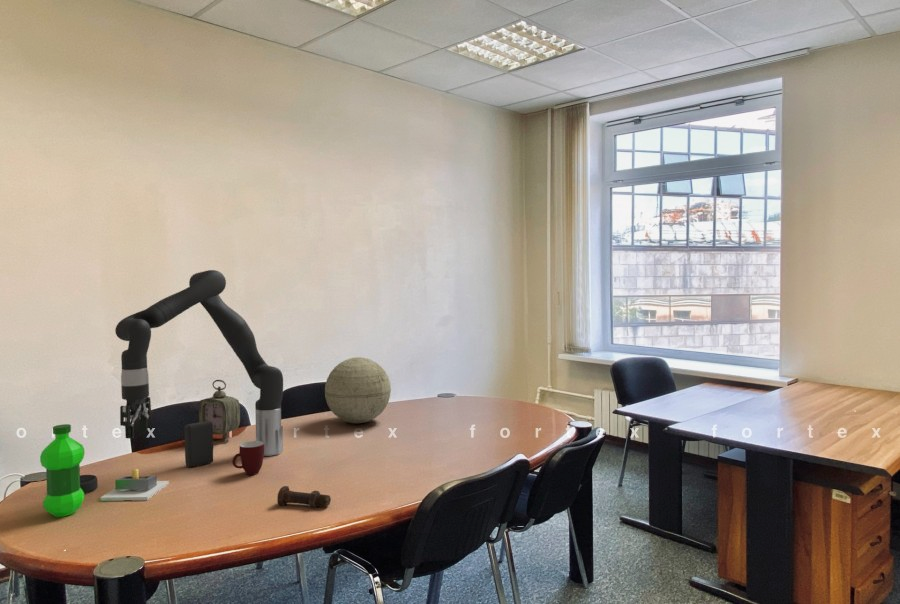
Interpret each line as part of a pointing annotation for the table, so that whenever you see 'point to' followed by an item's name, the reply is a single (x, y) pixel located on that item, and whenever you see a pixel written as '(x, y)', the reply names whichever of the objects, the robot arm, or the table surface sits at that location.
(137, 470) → the keeper post
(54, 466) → the plastic bottle
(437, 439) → the table surface
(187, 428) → the dark grey upright slab
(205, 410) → the tabletop clock
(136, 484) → the steel link
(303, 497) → the bolt
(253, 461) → the mug
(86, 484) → the smart speaker
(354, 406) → the concrete ball
